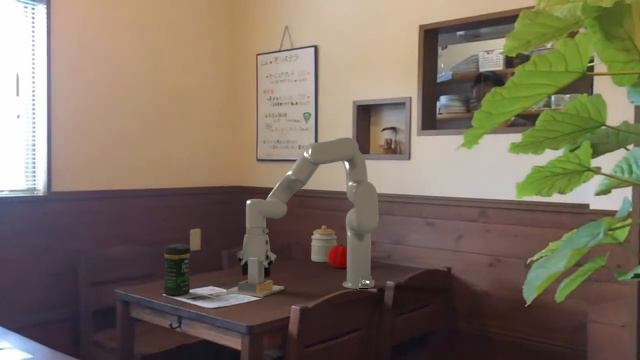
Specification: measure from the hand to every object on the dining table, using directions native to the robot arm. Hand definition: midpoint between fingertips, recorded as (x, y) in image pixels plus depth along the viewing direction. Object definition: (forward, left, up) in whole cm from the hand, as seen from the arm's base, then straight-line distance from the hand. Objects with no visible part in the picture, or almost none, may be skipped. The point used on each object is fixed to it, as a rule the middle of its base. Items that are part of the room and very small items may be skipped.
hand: (256, 276), depth 234 cm
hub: (0, 0, -6) cm, 6 cm away
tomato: (+24, -58, -6) cm, 63 cm away
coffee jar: (+11, +27, -6) cm, 30 cm away
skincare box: (0, 0, -5) cm, 5 cm away
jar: (+45, -63, -6) cm, 78 cm away
